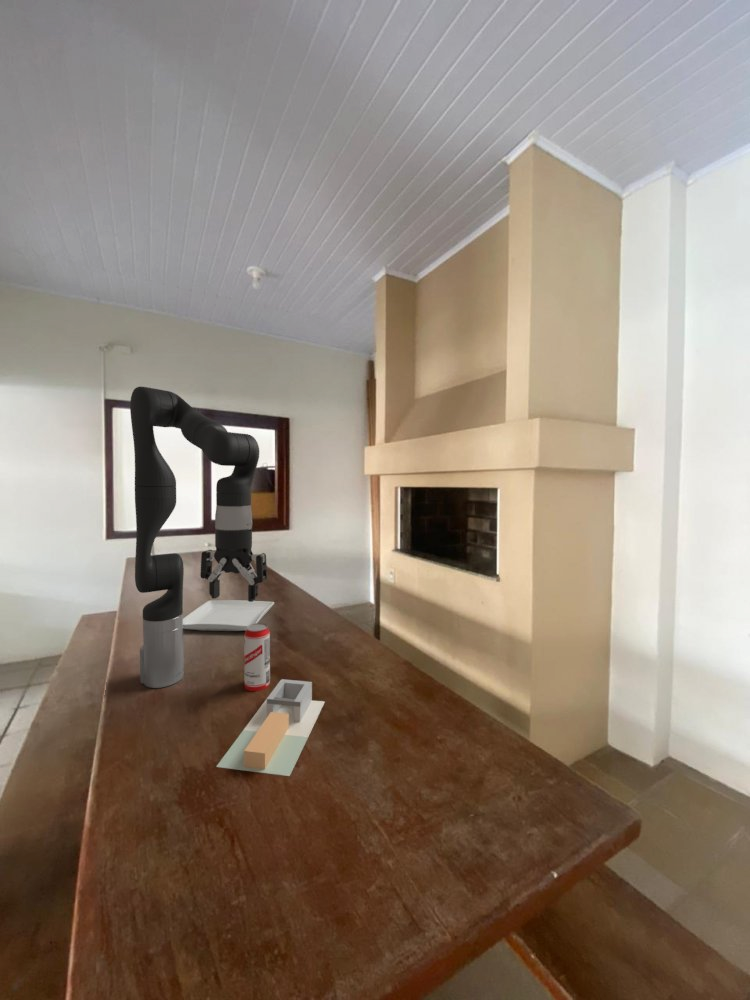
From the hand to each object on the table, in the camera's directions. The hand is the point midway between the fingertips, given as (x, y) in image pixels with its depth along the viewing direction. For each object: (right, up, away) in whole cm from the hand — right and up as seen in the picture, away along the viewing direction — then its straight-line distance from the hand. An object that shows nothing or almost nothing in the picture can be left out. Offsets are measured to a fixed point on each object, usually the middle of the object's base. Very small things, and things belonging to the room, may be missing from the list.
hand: (233, 599), depth 86 cm
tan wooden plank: (+10, -27, -9) cm, 30 cm away
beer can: (+1, -27, +14) cm, 30 cm away
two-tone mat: (+11, -27, -4) cm, 30 cm away
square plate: (-24, -24, +61) cm, 70 cm away
